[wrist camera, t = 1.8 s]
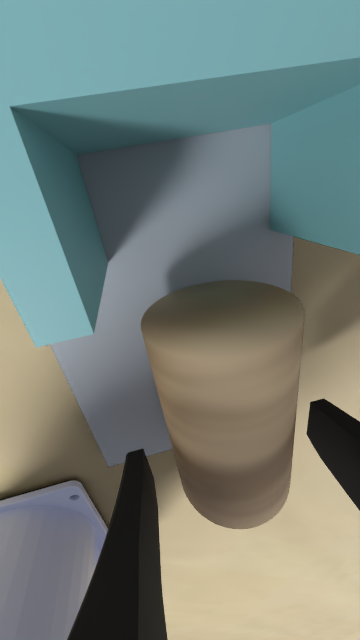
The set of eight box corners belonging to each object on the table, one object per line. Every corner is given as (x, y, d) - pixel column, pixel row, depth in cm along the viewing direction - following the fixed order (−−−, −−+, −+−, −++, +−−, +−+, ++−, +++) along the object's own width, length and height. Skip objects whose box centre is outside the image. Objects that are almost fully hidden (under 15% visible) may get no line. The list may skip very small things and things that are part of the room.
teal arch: (295, 224, 10) (438, 254, 5) (79, 269, 9) (36, 347, 4) (305, 39, 7) (581, -187, 3) (11, 77, 6) (-223, -155, 2)
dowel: (256, 411, 14) (316, 505, 10) (171, 437, 14) (196, 547, 9) (254, 271, 10) (348, 326, 6) (135, 298, 10) (149, 380, 6)
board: (278, 409, 15) (284, 417, 15) (109, 456, 14) (108, 467, 14) (302, -227, 6) (320, -269, 5) (-203, -218, 5) (-245, -270, 4)
